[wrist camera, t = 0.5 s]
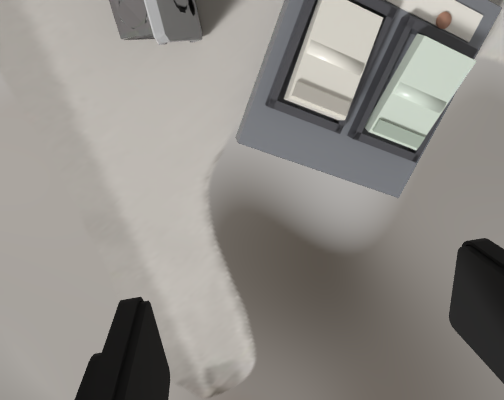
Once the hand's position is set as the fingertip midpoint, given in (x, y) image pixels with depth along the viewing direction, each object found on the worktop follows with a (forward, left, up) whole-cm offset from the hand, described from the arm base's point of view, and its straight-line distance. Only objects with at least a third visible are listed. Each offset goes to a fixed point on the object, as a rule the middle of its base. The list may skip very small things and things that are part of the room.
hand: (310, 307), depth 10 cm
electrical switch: (-9, -10, -28) cm, 31 cm away
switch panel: (-9, +10, -28) cm, 31 cm away
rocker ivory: (-9, +5, -24) cm, 26 cm away
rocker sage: (-9, +14, -24) cm, 29 cm away
